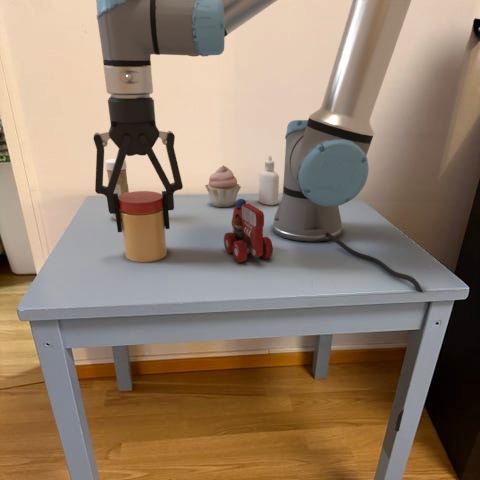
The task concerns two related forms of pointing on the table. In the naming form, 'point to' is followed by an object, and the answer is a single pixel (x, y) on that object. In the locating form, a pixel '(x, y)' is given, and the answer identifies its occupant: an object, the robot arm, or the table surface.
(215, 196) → the cupcake
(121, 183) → the sprinkles bottle
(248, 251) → the toy fire truck
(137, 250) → the jar
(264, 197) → the eye dropper bottle
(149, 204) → the lid
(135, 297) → the table surface
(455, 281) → the table surface
